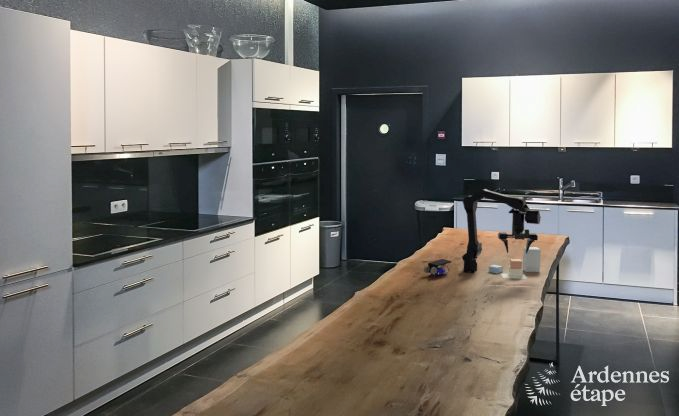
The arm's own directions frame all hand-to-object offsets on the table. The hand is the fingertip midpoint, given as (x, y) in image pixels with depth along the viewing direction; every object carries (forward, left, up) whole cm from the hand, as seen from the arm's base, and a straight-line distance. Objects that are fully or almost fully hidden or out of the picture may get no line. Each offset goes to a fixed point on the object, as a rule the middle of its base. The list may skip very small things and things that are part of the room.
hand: (516, 253), depth 336 cm
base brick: (0, 0, -12) cm, 12 cm away
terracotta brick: (0, 0, -8) cm, 8 cm away
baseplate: (-1, -1, -12) cm, 12 cm away
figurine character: (-39, -2, -13) cm, 41 cm away
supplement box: (+10, +14, -13) cm, 21 cm away
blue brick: (-9, +7, -13) cm, 17 cm away
